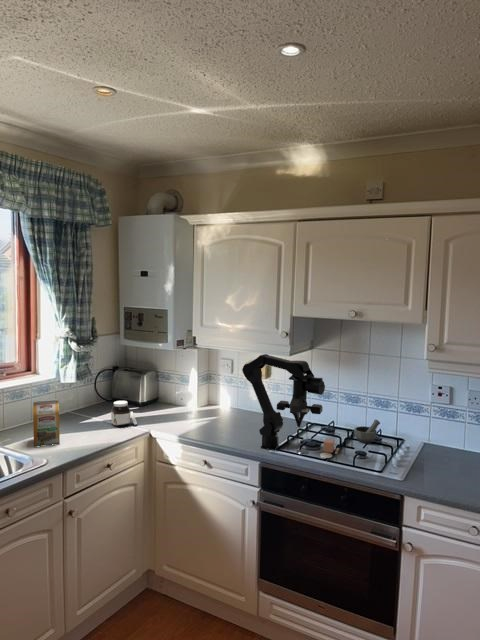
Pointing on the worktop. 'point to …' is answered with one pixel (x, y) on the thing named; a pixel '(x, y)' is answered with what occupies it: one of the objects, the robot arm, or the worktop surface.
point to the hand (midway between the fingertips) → (298, 427)
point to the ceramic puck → (326, 455)
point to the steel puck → (302, 452)
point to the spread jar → (121, 414)
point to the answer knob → (328, 445)
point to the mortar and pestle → (366, 432)
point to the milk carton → (46, 422)
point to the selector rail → (300, 444)
